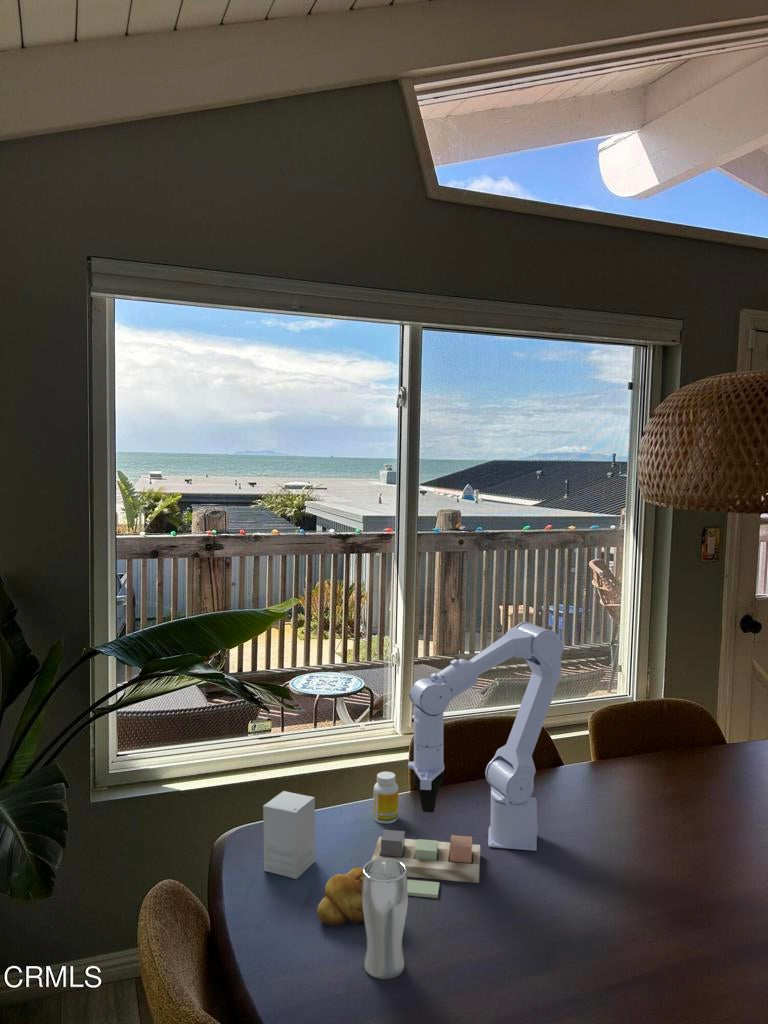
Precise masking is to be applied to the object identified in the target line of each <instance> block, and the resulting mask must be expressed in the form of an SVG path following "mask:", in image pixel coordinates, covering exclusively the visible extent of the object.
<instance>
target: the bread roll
mask: <svg viewBox="0 0 768 1024" xmlns="http://www.w3.org/2000/svg"><path fill="white" fill-rule="evenodd" d="M362 879H363V867H356V866H355V867H353V868H351V870H349V871H348V872H347V873H346V874H344V873H337V874H334V875H333V876H332V877H330V878H329V879H328V881H327V882H326V884H325V886H324V889H325V890H324V894H325V895H324V897H323V898H322V899H321V901H320V902H319V904H318V906H317V910H316V912H317V916H318V919H319V920H320V921H321V922H322V923H324V924H326V925H329V926H341V925H342V926H343V925H345V924H348V923H353V924H361V923H362V924H364V919H363V912H362V897H361V896H362Z"/></svg>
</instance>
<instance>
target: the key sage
mask: <svg viewBox="0 0 768 1024" xmlns="http://www.w3.org/2000/svg"><path fill="white" fill-rule="evenodd" d="M416 840H417V844H416V848H415V859H421V860H432V861H438V842H439V840H431V839H423V838H421V839H419V838H417V839H416Z"/></svg>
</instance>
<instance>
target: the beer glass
mask: <svg viewBox="0 0 768 1024" xmlns="http://www.w3.org/2000/svg"><path fill="white" fill-rule="evenodd" d="M362 868H363V879H362V896H361V897H362V912H363V919H364V923H363V924H364V929H365V936H366V951H365V954H364V955H365V956H364V963H363V966H364V971H365V972H366V973H367V974H368V975H369V976H370V977H372V978H373V979H374V978H375V979H378V980H391V979H394V978H397V977H398V976H400V975H401V974H402V973H403V971H404V970H405V958H404V952H403V935H404V929H405V926H406V925H405V924H406V918H407V913H408V901H409V896H408V885H407V879H408V877H407V869H406V866H405V865H404V864H403V863H402V862H400V861H398V860H396V859H391V858H378V859H374V860H372V859H371V860H369V861H367V862H366V863H364V866H363V867H362Z"/></svg>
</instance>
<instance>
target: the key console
mask: <svg viewBox="0 0 768 1024" xmlns="http://www.w3.org/2000/svg"><path fill="white" fill-rule="evenodd" d="M381 839H382V836H378V839H377V843H376V845H375V848H374V851H373V855H372V857H371V860H374V859H378V858H391V859H396V860H398V861H400V862H402V863H403V864H404V865H405V866H406V869H407V878H418V879H420V878H421V879H430V880H441V881H453V882H462V883H464V882H465V883H473V884H479V883H480V867H481V866H480V865H481V845H480V844H475V843H474V844H473V843H472V860H471V863H465V862H454V861H450V842H449V841H438V859H437V861H432V860H421V859H415V848H416V844H417V839H412V838H405V847H404V851H403V855H402V857H396V856H384V855H381Z"/></svg>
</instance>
